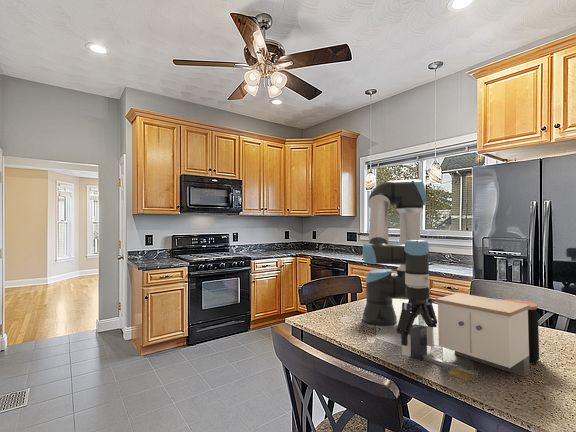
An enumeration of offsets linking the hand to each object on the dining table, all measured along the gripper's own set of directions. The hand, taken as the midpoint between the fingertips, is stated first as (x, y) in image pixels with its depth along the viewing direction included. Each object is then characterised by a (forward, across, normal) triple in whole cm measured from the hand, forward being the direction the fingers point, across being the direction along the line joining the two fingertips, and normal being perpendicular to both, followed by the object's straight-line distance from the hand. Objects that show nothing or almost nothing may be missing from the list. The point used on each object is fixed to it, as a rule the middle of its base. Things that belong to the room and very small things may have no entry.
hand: (418, 350), depth 106 cm
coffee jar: (+2, +26, -20) cm, 33 cm away
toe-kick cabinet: (+2, +9, -16) cm, 18 cm away
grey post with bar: (+2, 0, -8) cm, 8 cm away
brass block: (+3, -3, -15) cm, 16 cm away
